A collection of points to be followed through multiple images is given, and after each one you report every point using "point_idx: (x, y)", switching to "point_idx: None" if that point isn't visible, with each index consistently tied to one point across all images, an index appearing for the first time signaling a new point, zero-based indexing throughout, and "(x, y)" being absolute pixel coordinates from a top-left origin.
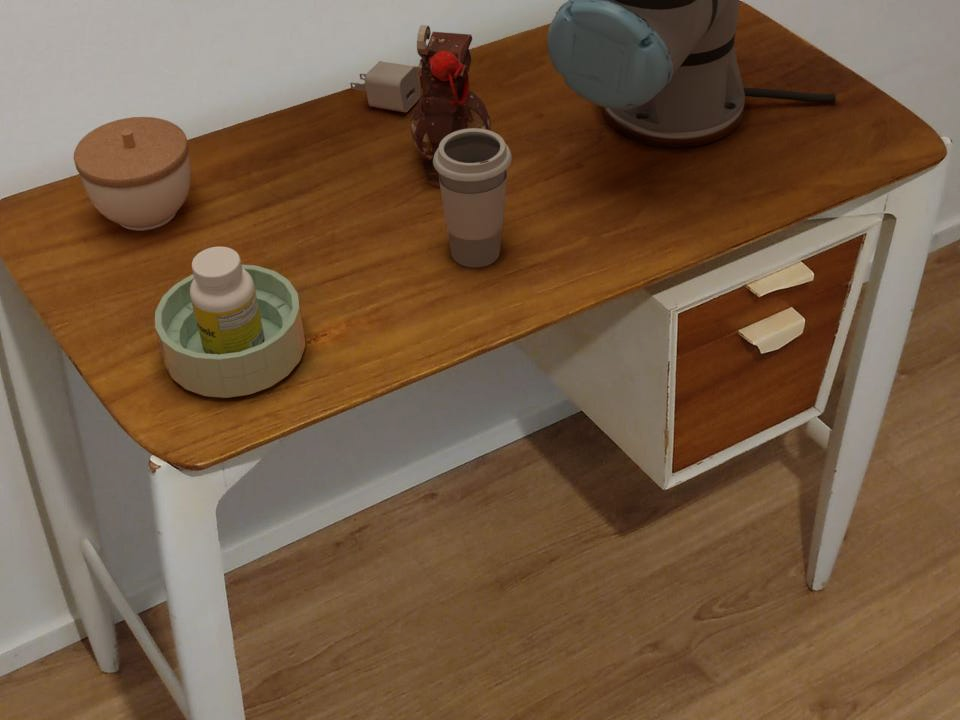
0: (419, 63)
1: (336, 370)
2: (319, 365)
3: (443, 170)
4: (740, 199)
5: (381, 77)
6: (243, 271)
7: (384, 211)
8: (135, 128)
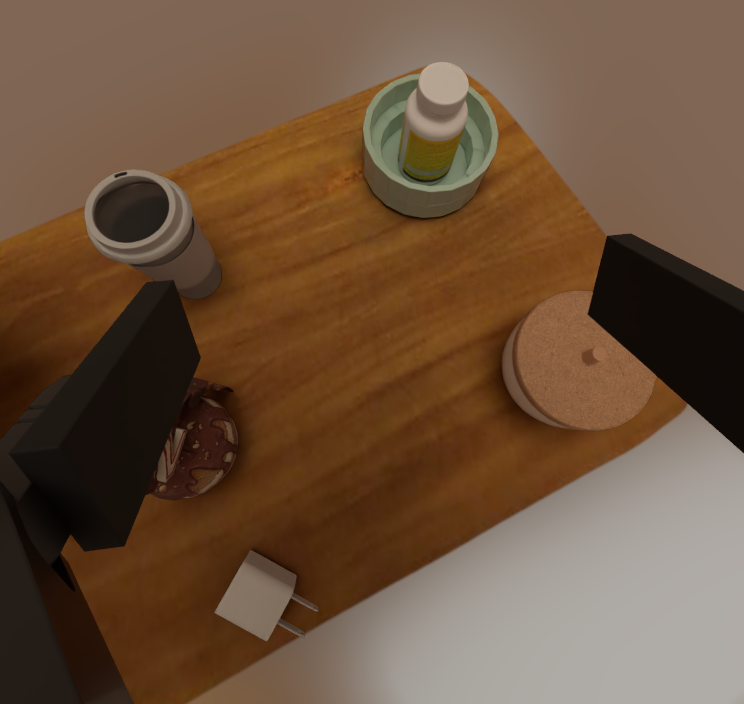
0: (178, 441)
1: (335, 138)
2: (350, 145)
3: (179, 187)
4: None
5: (267, 584)
6: (416, 115)
7: (286, 352)
8: (591, 396)
